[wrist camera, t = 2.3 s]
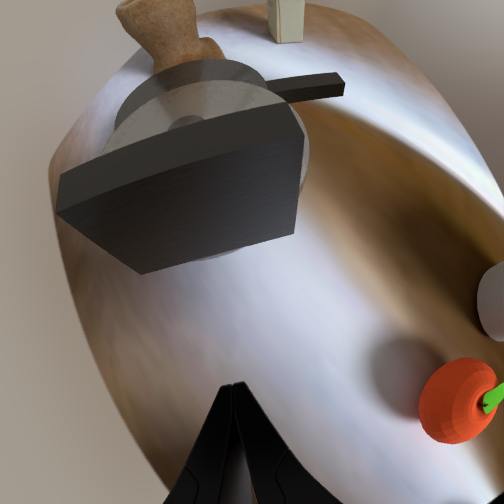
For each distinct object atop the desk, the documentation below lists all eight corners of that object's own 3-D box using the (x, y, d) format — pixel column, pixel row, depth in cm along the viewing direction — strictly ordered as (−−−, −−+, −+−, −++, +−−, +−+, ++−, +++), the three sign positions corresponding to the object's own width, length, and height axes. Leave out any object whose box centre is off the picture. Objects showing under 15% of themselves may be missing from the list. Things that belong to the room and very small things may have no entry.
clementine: (467, 342, 20) (518, 332, 13) (478, 407, 17) (527, 413, 10) (397, 377, 20) (441, 382, 13) (410, 447, 17) (452, 471, 10)
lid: (344, 229, 15) (391, 122, 8) (105, 292, 15) (2, 239, 8) (270, 77, 20) (265, -10, 13) (107, 125, 20) (64, 53, 13)
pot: (357, 177, 26) (378, 119, 18) (151, 230, 26) (110, 184, 18) (309, 94, 31) (313, 39, 23) (145, 134, 30) (119, 85, 23)
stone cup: (145, 63, 37) (116, -10, 23) (215, 42, 37) (200, -35, 23) (145, 116, 32) (100, 21, 18) (237, 89, 32) (219, -17, 18)
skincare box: (267, 29, 38) (263, -30, 26) (293, 27, 38) (292, -31, 26) (277, 44, 35) (273, -22, 24) (304, 42, 35) (306, -23, 24)
